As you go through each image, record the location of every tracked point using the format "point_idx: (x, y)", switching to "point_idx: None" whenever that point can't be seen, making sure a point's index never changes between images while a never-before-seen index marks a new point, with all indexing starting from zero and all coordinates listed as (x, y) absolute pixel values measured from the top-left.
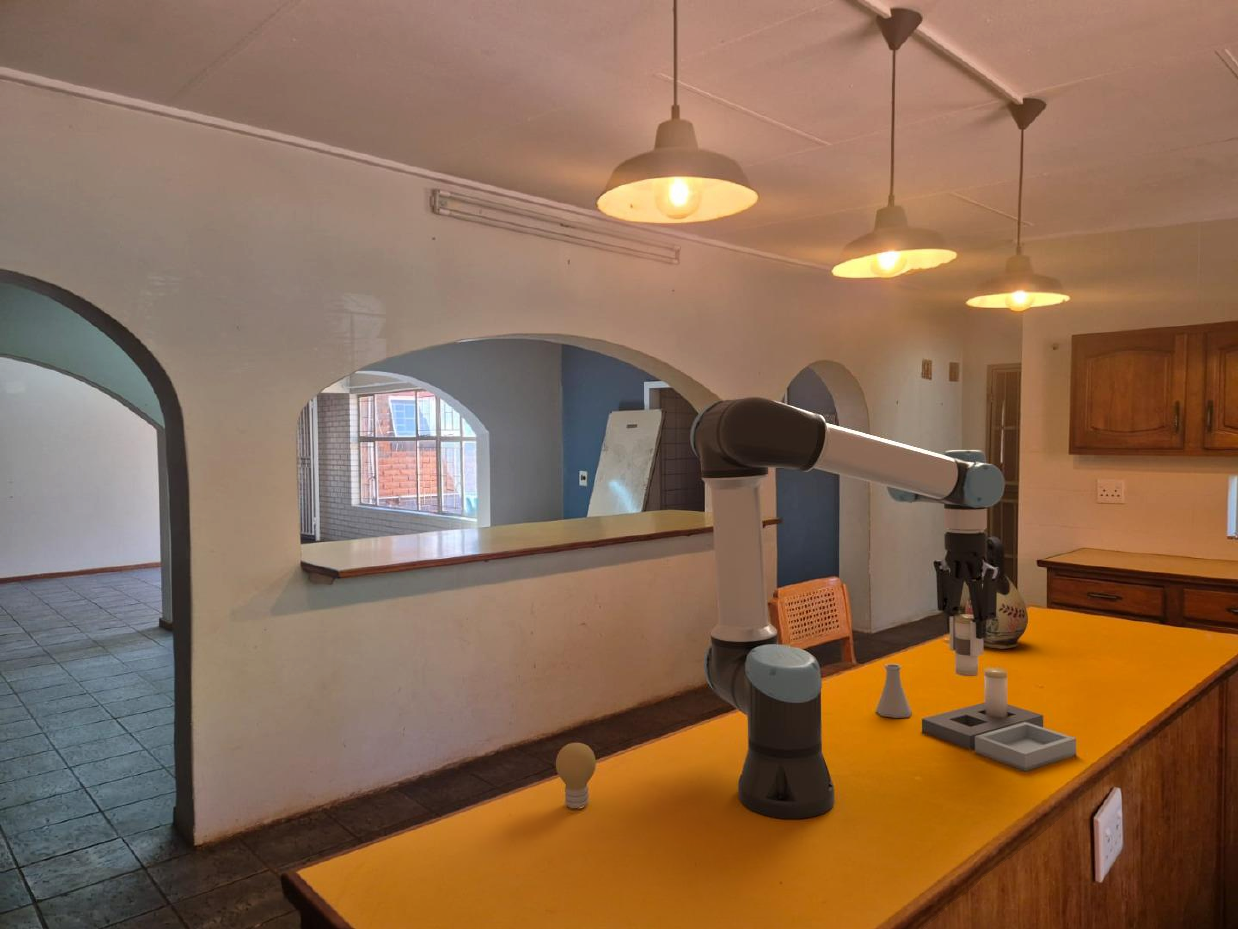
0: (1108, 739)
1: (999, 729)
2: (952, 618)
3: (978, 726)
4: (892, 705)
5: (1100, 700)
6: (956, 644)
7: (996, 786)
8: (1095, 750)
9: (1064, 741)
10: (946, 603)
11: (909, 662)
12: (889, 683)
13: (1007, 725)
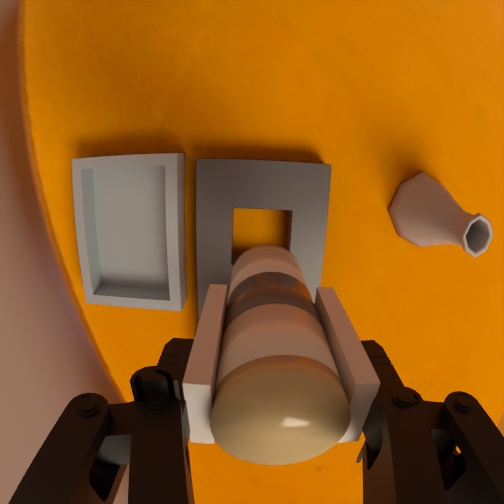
0: (127, 378)
1: (176, 232)
2: (356, 380)
3: (224, 224)
4: (420, 190)
5: (239, 475)
6: (294, 291)
7: (80, 71)
8: (102, 329)
9: (82, 274)
10: (447, 459)
11: (487, 408)
12: (454, 207)
13: (197, 279)
